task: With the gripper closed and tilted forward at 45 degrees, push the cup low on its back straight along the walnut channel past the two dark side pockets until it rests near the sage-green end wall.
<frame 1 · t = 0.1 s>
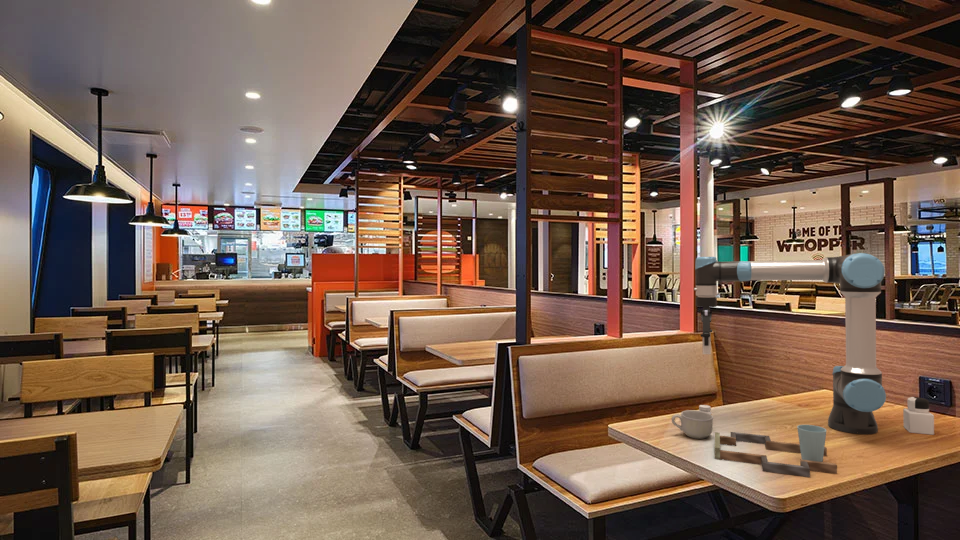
hand: (706, 351, 203), 28 cm above the table, tool pointing down, fingers open, 13 cm apart
cup: (812, 462, 163), on the table
trap box: (775, 457, 167), on the table
supplement bottle: (704, 429, 198), on the table
teacup: (692, 436, 189), on the table
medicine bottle: (918, 431, 191), on the table
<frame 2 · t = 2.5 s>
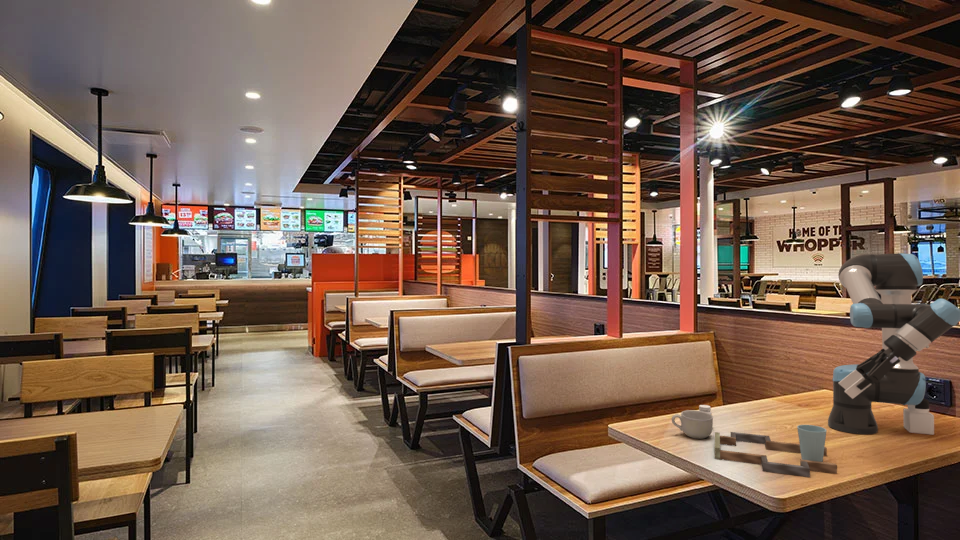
hand: (844, 390, 160), 23 cm above the table, tool tilted 45°, fingers open, 13 cm apart
nothing on the table moved.
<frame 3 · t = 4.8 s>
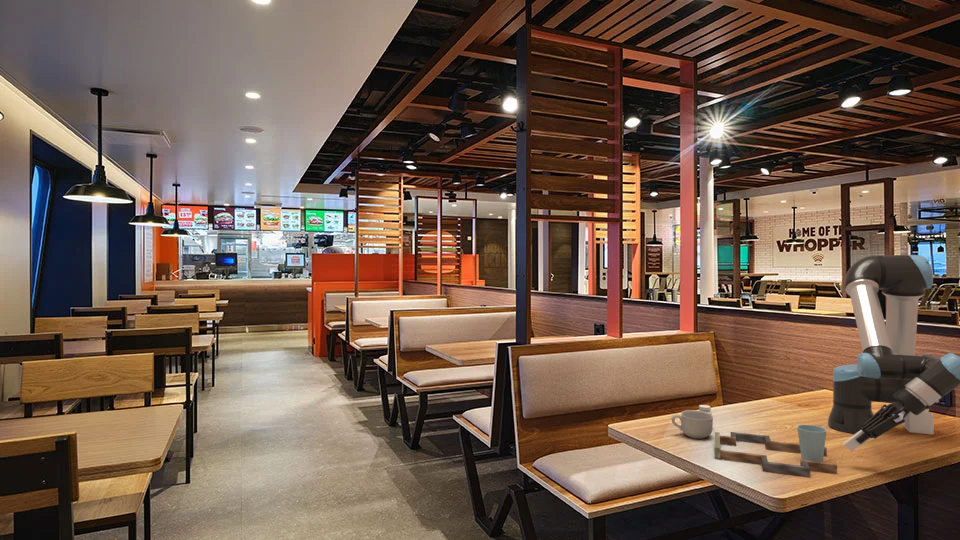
hand: (847, 447, 159), 6 cm above the table, tool tilted 45°, fingers closed
nothing on the table moved.
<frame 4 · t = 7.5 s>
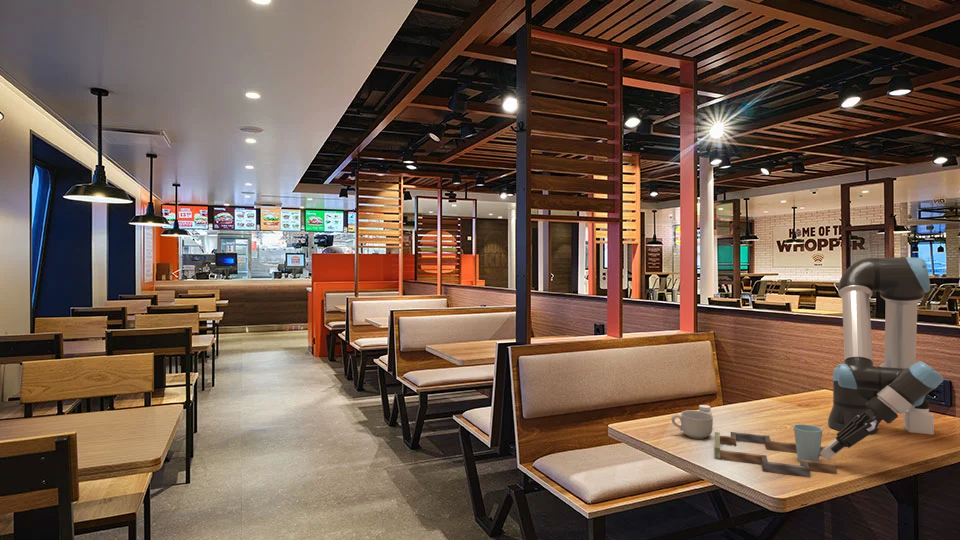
hand: (823, 456, 160), 3 cm above the table, tool tilted 45°, fingers closed
cup: (808, 461, 163), on the table, touching gripper
everything else where it was.
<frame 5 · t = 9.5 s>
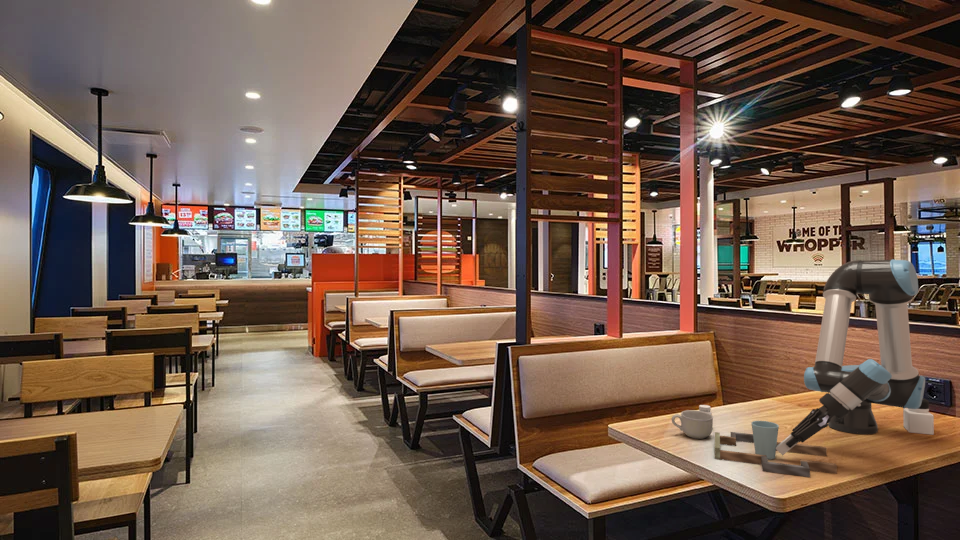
hand: (778, 451, 165), 3 cm above the table, tool tilted 45°, fingers closed
cup: (765, 457, 168), on the table, touching gripper
everything else where it was.
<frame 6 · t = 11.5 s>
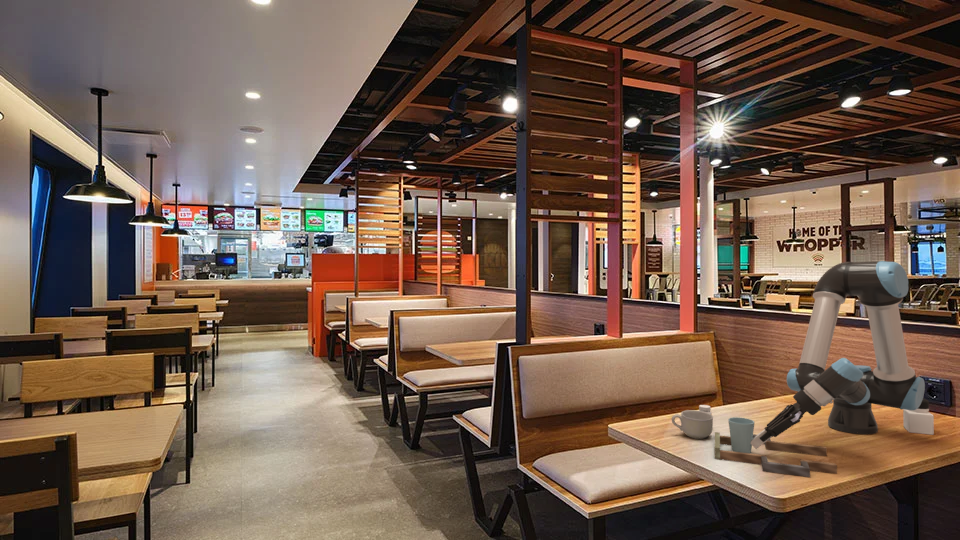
hand: (752, 445, 170), 3 cm above the table, tool tilted 45°, fingers closed
cup: (741, 452, 172), on the table, touching gripper
everything else where it was.
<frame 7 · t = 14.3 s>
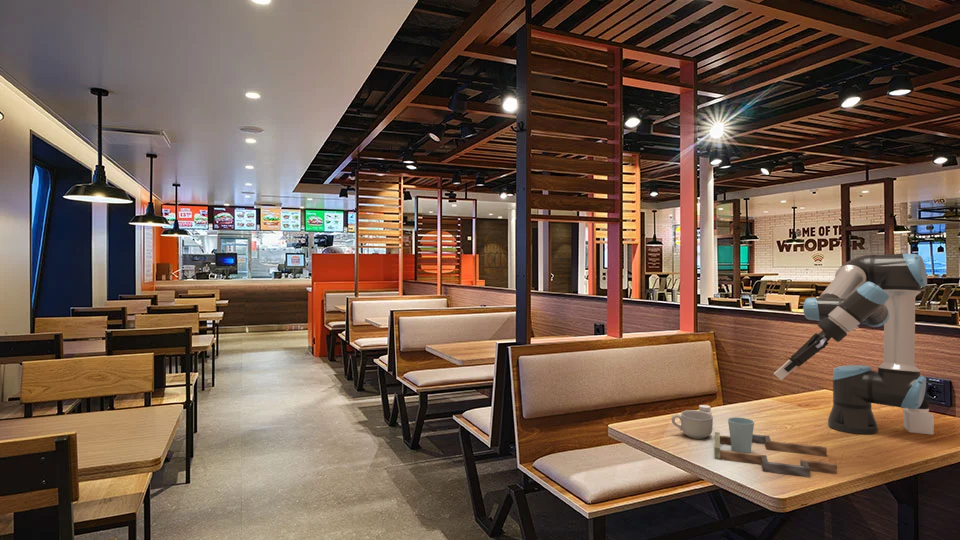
hand: (777, 376, 167), 26 cm above the table, tool tilted 45°, fingers closed
cup: (741, 452, 172), on the table
everything else where it was.
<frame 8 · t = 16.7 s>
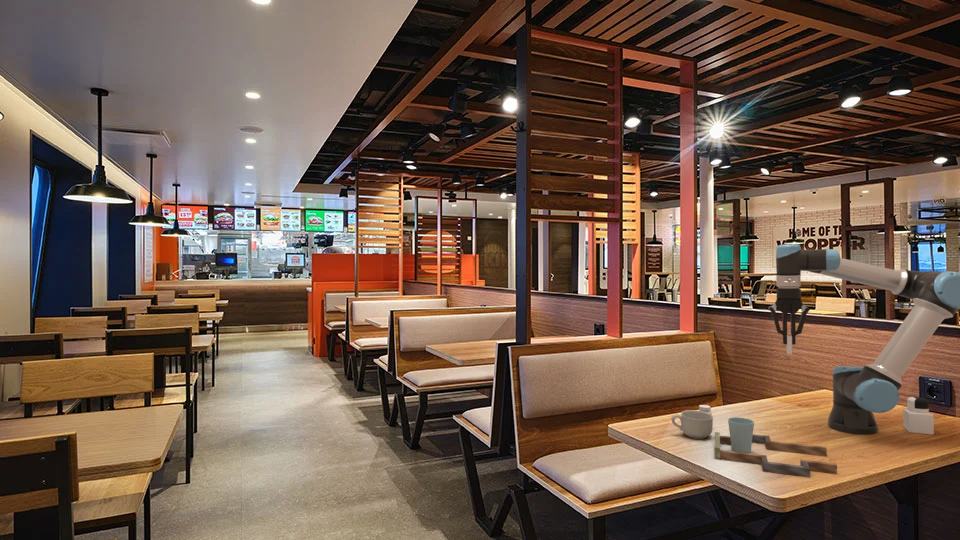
hand: (789, 353, 188), 29 cm above the table, tool pointing down, fingers closed
nothing on the table moved.
at the end: cup inside the target area (1.3 cm from its centre), on the table; cup tilted 0°; cup moved 19.7 cm from its start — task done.
